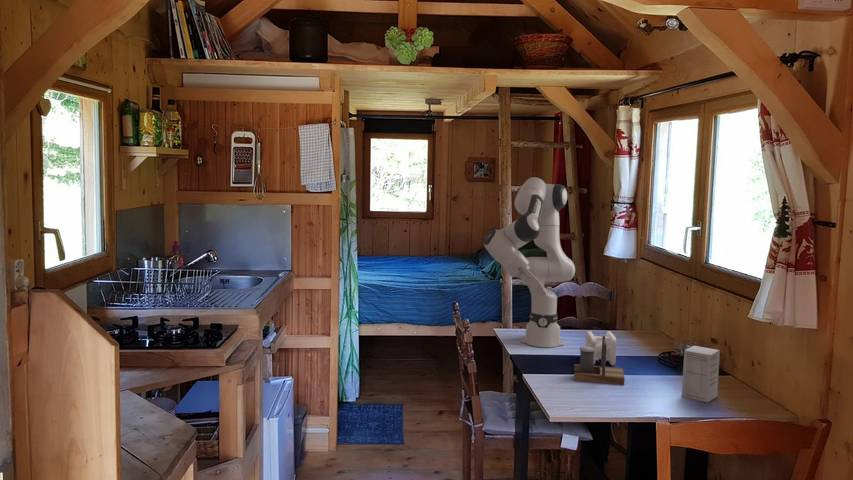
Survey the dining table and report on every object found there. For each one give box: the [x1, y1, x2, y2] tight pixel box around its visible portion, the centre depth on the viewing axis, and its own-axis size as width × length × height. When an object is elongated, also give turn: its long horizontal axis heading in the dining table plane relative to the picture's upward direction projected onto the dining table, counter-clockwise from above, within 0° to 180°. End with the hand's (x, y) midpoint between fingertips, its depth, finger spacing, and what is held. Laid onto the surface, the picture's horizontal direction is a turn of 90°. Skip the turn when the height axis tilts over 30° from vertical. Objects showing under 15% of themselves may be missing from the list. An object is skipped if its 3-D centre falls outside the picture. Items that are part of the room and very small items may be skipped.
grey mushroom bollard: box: [578, 346, 595, 374], centre depth 261 cm, size 6×6×11 cm
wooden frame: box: [573, 335, 625, 386], centre depth 260 cm, size 13×18×14 cm
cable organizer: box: [584, 330, 617, 366], centre depth 280 cm, size 15×11×12 cm
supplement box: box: [681, 345, 721, 403], centre depth 240 cm, size 10×9×17 cm
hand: (542, 292), depth 261 cm, fingers open, 8 cm apart
